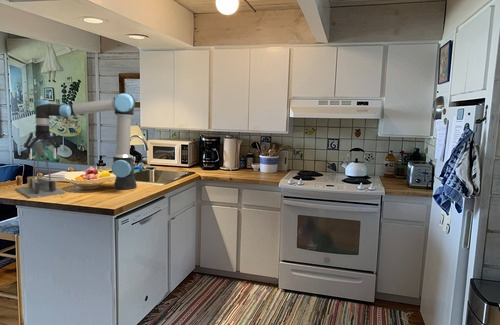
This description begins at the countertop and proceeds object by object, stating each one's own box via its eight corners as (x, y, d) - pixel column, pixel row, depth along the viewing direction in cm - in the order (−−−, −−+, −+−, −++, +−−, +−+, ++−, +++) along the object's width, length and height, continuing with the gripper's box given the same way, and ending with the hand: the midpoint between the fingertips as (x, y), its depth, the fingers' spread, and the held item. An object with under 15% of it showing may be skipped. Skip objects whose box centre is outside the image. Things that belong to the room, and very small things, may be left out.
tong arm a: (37, 186, 236) (36, 177, 236) (40, 186, 238) (39, 177, 237) (52, 191, 226) (52, 181, 225) (55, 190, 228) (55, 181, 227)
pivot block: (27, 187, 238) (27, 175, 237) (39, 186, 243) (38, 174, 242) (30, 188, 234) (29, 177, 233) (42, 187, 239) (41, 175, 238)
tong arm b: (32, 187, 235) (31, 178, 234) (35, 187, 236) (35, 178, 235) (35, 193, 219) (35, 183, 219) (39, 192, 221) (38, 183, 220)
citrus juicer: (51, 182, 260) (49, 141, 256) (39, 185, 250) (37, 142, 246) (38, 181, 263) (36, 140, 259) (26, 184, 253) (24, 141, 249)
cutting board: (15, 189, 234) (15, 188, 234) (48, 186, 249) (48, 184, 249) (29, 198, 214) (29, 196, 214) (65, 193, 229) (65, 191, 228)
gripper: (61, 125, 235) (61, 157, 237) (17, 123, 217) (18, 158, 219) (65, 125, 229) (66, 158, 232) (21, 124, 211) (21, 160, 214)
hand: (42, 158), depth 226 cm, fingers open, 13 cm apart
